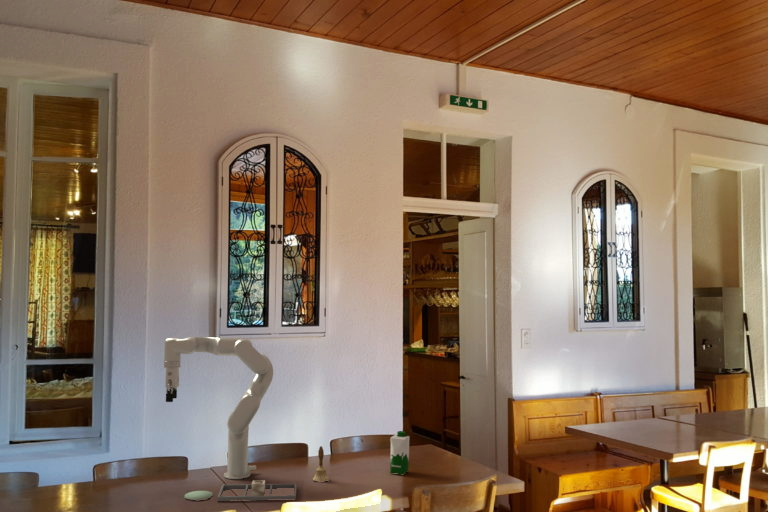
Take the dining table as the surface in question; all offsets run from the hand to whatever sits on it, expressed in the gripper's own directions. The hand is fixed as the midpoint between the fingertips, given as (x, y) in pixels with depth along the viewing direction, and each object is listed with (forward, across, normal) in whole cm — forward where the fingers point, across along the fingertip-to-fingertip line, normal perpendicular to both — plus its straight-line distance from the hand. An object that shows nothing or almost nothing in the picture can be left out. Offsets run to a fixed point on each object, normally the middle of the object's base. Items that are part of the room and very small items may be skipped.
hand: (171, 400), depth 334 cm
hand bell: (+37, -8, -72) cm, 81 cm away
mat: (+37, -30, -18) cm, 51 cm away
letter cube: (+36, -30, -44) cm, 64 cm away
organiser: (+37, -30, -44) cm, 65 cm away
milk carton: (+37, +3, -111) cm, 117 cm away
